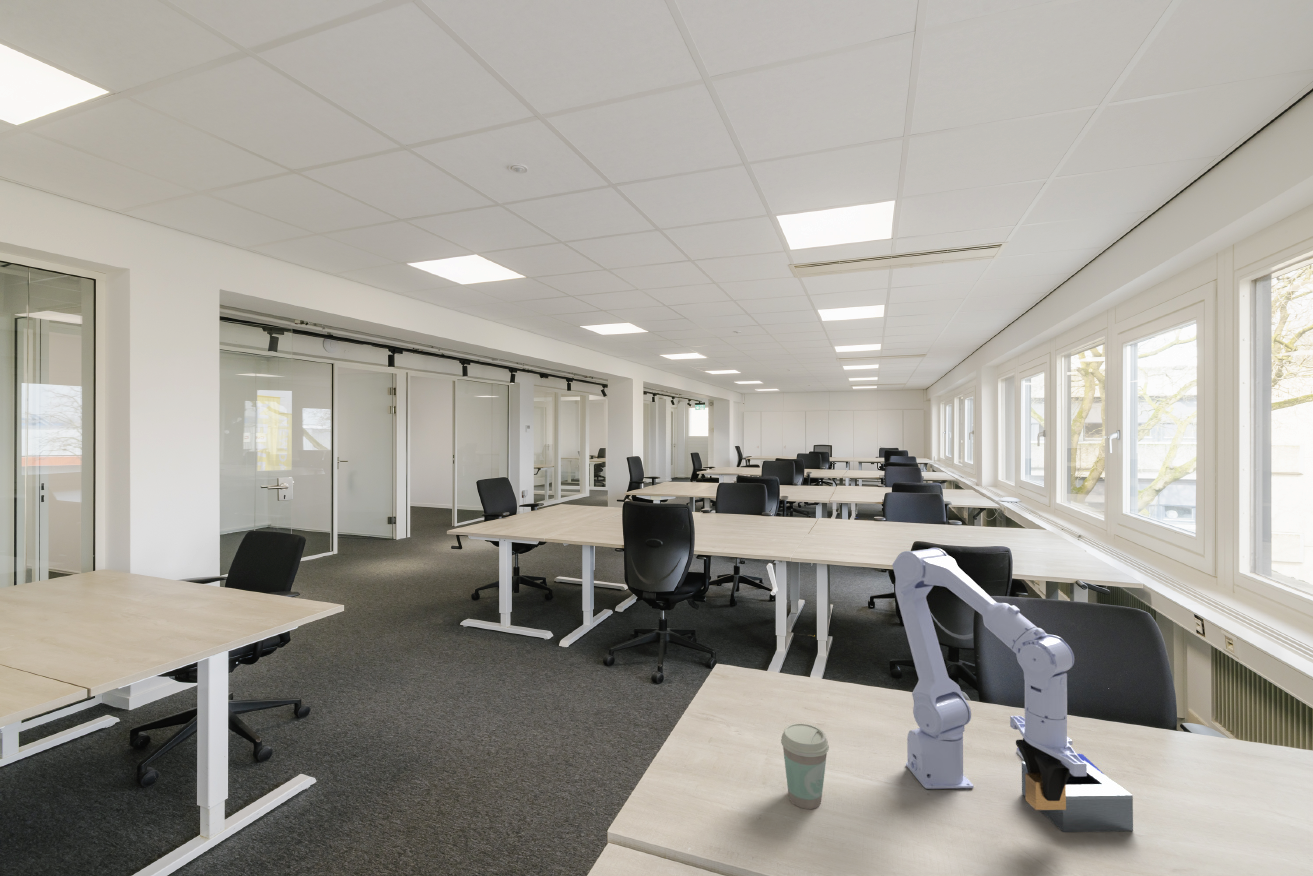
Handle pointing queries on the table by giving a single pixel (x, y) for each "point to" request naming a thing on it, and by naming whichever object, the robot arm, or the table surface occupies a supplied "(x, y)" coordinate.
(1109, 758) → the table surface
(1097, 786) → the grey block with slot
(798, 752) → the coffee cup
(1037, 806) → the orange rectangular block
